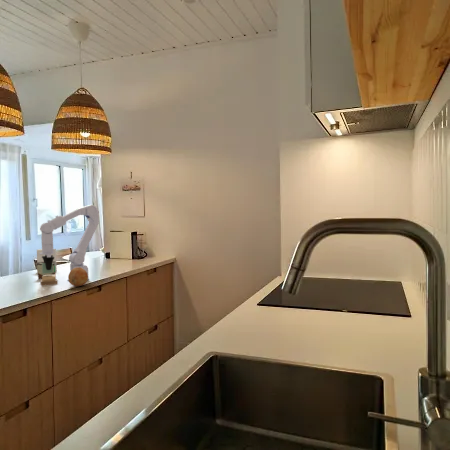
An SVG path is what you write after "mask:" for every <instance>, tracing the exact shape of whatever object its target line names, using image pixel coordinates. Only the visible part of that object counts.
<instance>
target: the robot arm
mask: <svg viewBox="0 0 450 450" xmlns="http://www.w3.org/2000/svg"><path fill="white" fill-rule="evenodd" d="M99 213H100V212H99V210H98V208H97V206H96V205H94V204H89V205H84V206H81V207H79V208H77V209H75V210H73V211H71V212H69V213H67V214H66V215H56V216H55V218H52V219H48V220H47V222H43V223H42V224H41V225H40V226H39V230H40V232H41V249H42V253H40V254H42V255H45V256H42V258H43V260H44V263H45V265H46V269H47V270H51V267H52V262H53V259H54V257H53V255H52V254H54V252H53V249H54V236H53V232H54V230H57V229H59V228H61V227H63V226H65V225H66V224H67V222H68V221H70V220H72V219H74V218H77V217H78V216H85V217H86V219H87V222H88V223H87V226H86V228H85V230H84V232H83V234H82V235H81V238H80V240H79V243H78V244H77V246H76V247H75V249H74V250H73V251H72V253H70V255H69V256H68V260H69V262H70V265H69V267H70V271H71V270H72V269H74V268H77V267H80V268H83V269H84V270H85V271H86V272H87V274H88V280H90V277H89V267H88V266H87V265H85V264H84V262H85V257H86V253H87V252H86V250H87V248H88V246H89V245H90V242H91V240H92V239H93V237H94V234H95V233H96V229H97V228H98V226H99V224H100V217H99ZM88 280H87V281H88ZM66 281H67V282H69V279H67V280H66Z"/></svg>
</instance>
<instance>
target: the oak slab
mask: <svg viewBox="0 0 450 450" xmlns="http://www.w3.org/2000/svg"><path fill="white" fill-rule="evenodd" d="M56 275H57V274H56V273H55V274H54V275H43V276H42V279H41V280H42V282H44V281H55V280H56V279H57V276H56Z"/></svg>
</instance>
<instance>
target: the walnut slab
mask: <svg viewBox="0 0 450 450" xmlns="http://www.w3.org/2000/svg"><path fill="white" fill-rule="evenodd" d="M39 280H40V285H41V286H50V285H52V286H53V285H58V284H59V283H58V279H57V278H56V280H55V281H44V282H42V279H39Z"/></svg>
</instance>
